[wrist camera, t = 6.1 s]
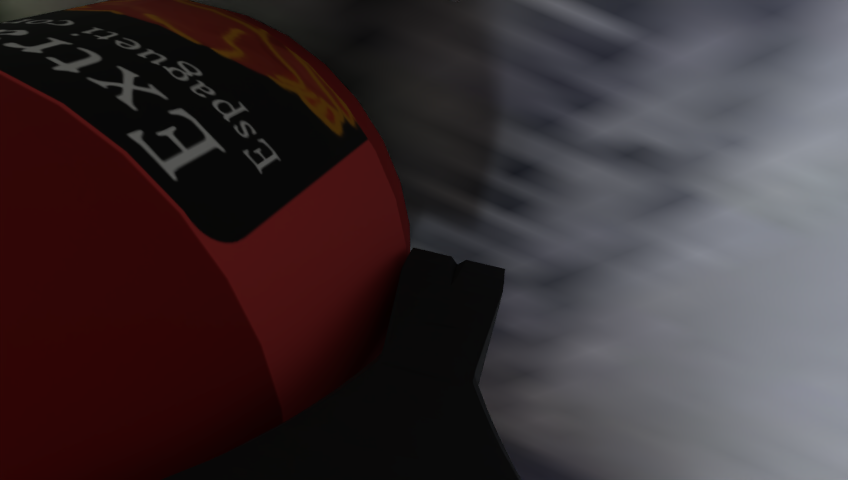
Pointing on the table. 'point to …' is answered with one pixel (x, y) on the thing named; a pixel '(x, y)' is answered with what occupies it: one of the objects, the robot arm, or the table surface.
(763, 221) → the table surface
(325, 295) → the canned food
